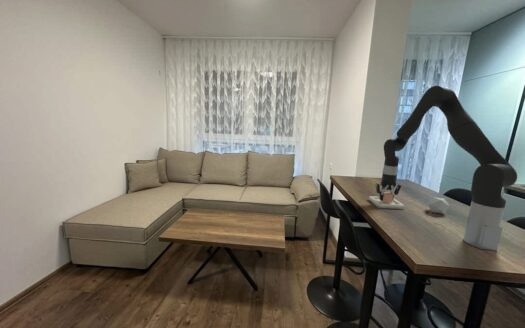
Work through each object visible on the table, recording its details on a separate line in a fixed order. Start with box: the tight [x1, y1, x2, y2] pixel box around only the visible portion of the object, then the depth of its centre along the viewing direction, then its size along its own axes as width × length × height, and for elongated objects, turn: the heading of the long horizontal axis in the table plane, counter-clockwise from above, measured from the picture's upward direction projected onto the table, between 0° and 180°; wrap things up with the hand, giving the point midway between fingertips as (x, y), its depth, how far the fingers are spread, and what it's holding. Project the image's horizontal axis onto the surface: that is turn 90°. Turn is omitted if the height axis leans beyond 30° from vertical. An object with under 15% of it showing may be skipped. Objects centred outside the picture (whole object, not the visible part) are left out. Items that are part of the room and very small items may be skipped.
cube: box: [382, 191, 393, 203], centre depth 131 cm, size 5×5×5 cm
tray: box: [368, 195, 405, 210], centre depth 132 cm, size 14×14×2 cm
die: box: [426, 196, 450, 215], centre depth 121 cm, size 8×9×10 cm
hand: (386, 200), depth 132 cm, fingers closed on cube, 5 cm apart
